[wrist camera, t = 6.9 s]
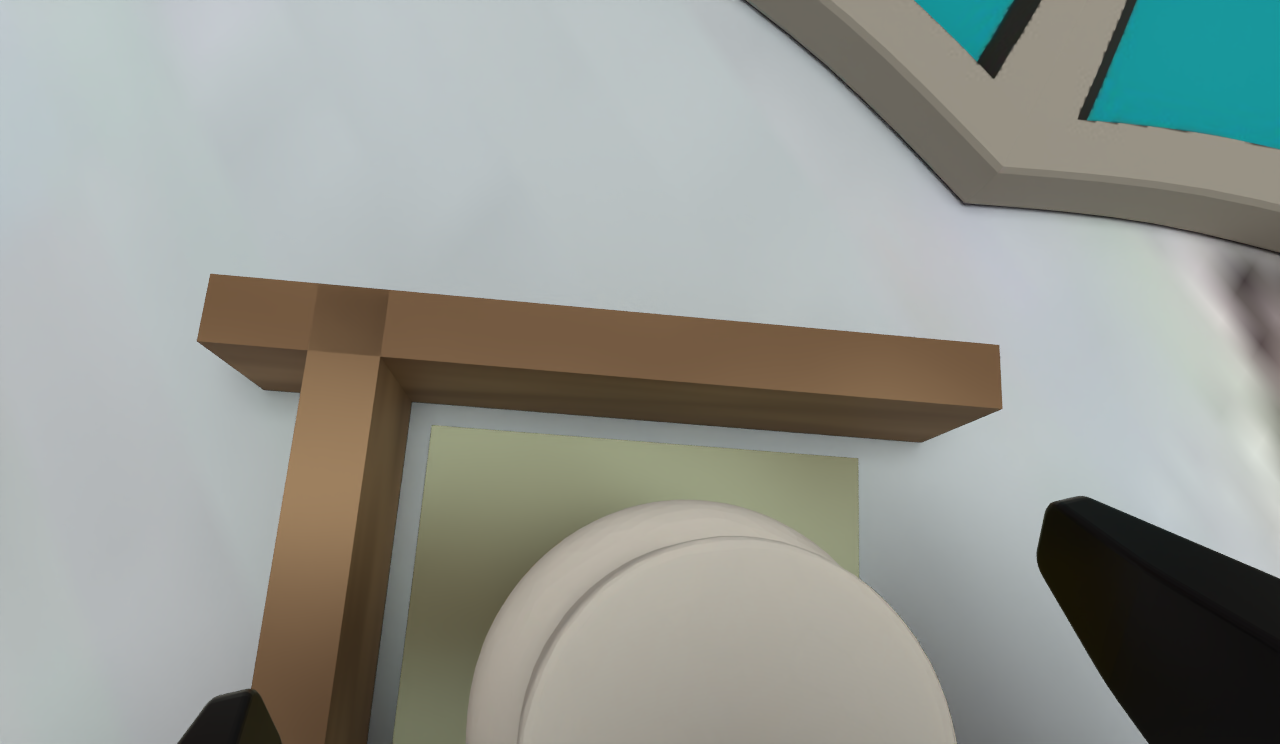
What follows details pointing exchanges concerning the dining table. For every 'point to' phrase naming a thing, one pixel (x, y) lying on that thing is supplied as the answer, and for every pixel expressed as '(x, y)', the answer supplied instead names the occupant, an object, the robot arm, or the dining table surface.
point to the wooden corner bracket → (527, 460)
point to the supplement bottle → (700, 642)
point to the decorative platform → (1074, 100)
